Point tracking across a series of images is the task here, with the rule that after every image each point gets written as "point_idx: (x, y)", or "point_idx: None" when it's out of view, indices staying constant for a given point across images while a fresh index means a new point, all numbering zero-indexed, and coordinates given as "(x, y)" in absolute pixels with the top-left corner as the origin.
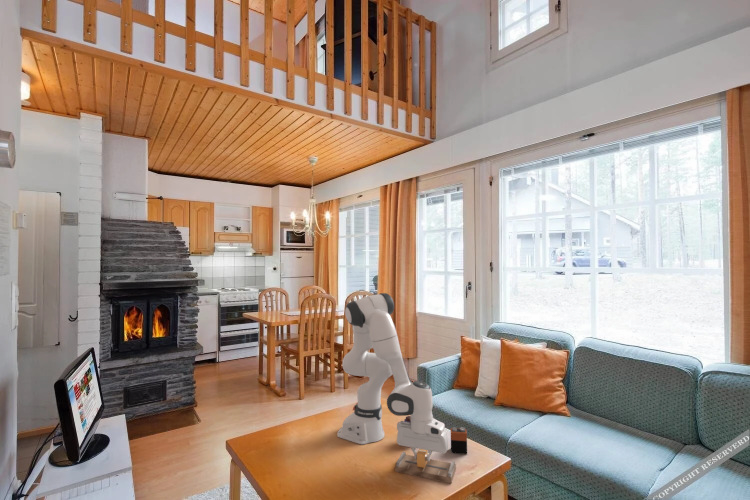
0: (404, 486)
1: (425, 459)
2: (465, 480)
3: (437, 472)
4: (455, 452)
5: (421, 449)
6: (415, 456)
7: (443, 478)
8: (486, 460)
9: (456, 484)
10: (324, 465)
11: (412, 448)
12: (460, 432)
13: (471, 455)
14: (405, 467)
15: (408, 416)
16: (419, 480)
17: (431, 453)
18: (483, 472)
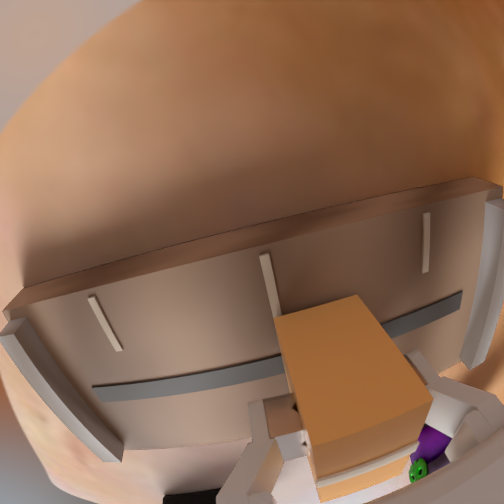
0: (334, 8)
1: (293, 401)
2: (8, 357)
3: (121, 326)
4: (206, 494)
5: (382, 471)
6: (419, 368)
7: (56, 290)
8: (83, 483)
9: (3, 296)
10: None
11: (496, 413)
12: None
13: (145, 494)
14: (445, 218)
15: None
16: (257, 160)
17: (216, 498)
18: (25, 431)
